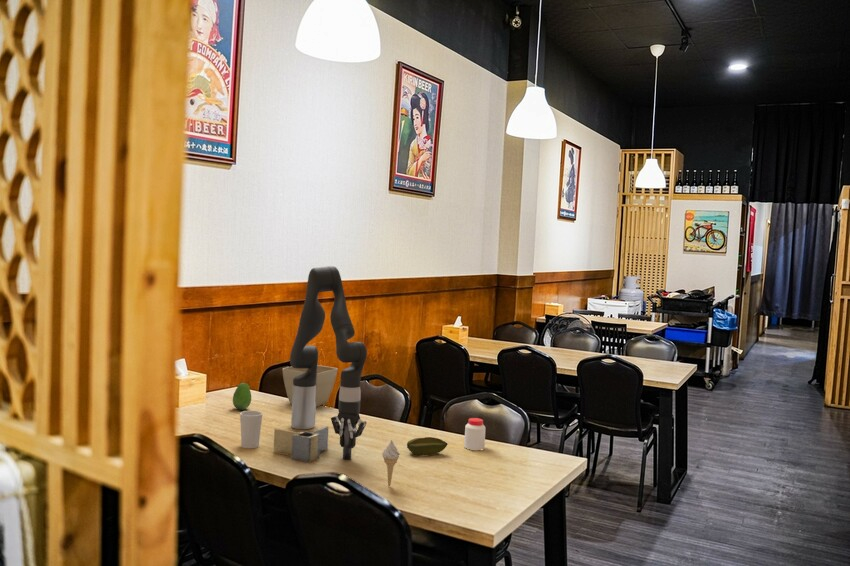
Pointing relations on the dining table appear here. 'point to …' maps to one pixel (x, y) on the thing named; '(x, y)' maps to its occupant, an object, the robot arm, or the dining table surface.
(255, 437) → the cup
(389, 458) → the ice cream cone
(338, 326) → the robot arm
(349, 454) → the hinge pin
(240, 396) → the fruit
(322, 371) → the flower pot
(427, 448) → the fruit
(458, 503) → the dining table surface
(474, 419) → the pill bottle
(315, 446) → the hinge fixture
